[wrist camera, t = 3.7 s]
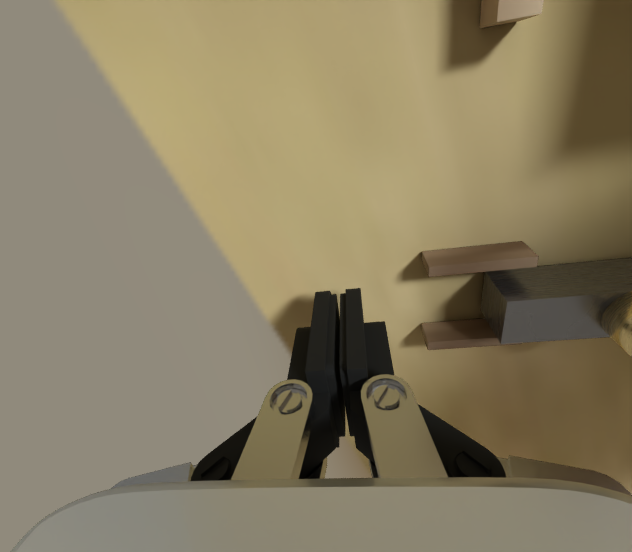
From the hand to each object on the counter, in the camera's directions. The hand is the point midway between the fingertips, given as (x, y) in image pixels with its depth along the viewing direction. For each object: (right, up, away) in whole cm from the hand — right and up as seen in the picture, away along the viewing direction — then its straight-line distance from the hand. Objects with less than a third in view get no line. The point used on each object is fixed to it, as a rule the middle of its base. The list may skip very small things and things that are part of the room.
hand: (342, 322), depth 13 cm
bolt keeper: (+5, +1, +1) cm, 5 cm away
